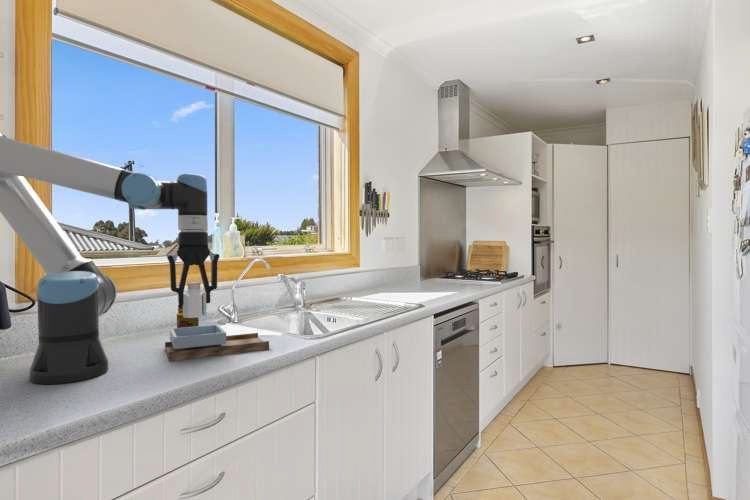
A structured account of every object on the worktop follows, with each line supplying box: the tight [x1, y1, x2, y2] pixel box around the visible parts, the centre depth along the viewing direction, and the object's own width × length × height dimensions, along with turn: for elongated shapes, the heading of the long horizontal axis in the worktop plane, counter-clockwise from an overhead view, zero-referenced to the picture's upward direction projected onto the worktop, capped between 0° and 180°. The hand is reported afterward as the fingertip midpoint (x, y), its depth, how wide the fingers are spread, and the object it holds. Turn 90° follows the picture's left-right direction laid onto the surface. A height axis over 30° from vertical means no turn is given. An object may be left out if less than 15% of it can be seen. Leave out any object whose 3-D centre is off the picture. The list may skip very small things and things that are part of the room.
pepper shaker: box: [186, 281, 203, 318], centre depth 126 cm, size 4×4×10 cm
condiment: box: [176, 304, 200, 328], centre depth 138 cm, size 7×8×12 cm
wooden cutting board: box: [164, 332, 270, 362], centre depth 129 cm, size 26×14×2 cm, turn 119°
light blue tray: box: [169, 324, 227, 351], centre depth 127 cm, size 13×13×5 cm
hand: (194, 315), depth 126 cm, fingers closed on pepper shaker, 4 cm apart
